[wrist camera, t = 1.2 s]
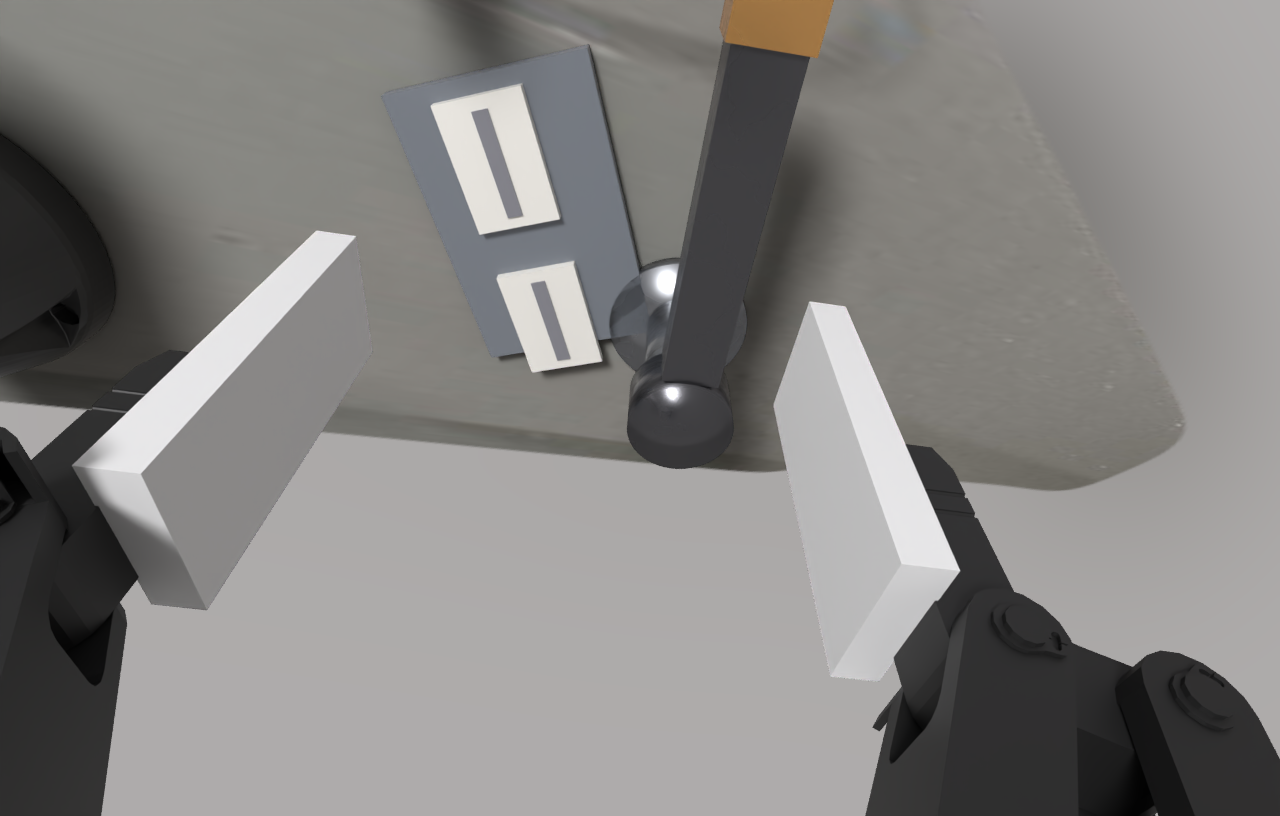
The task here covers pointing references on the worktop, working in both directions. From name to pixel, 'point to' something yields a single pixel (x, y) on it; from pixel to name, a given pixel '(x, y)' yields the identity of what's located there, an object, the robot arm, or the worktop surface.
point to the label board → (526, 203)
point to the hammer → (724, 228)
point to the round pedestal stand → (658, 315)
